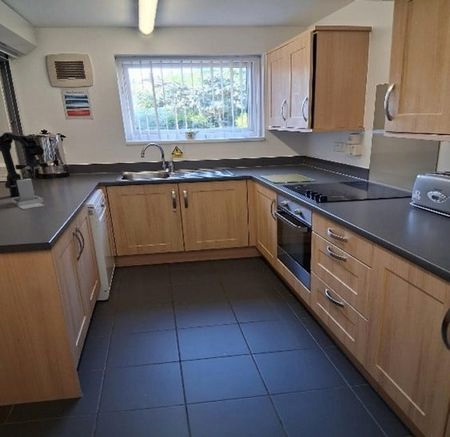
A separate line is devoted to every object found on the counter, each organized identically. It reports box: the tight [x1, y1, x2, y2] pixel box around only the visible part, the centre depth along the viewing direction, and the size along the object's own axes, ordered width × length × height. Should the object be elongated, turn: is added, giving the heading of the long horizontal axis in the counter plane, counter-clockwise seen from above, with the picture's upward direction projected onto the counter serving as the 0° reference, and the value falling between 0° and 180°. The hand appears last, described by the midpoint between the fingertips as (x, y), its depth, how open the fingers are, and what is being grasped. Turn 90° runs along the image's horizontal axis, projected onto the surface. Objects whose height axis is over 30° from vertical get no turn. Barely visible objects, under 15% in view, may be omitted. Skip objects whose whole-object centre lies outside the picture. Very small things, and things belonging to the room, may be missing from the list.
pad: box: [17, 203, 46, 210], centre depth 217 cm, size 12×12×1 cm
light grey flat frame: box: [12, 195, 44, 207], centre depth 230 cm, size 22×14×2 cm, turn 43°
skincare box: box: [17, 178, 36, 201], centre depth 226 cm, size 8×6×15 cm
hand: (34, 178), depth 238 cm, fingers closed
